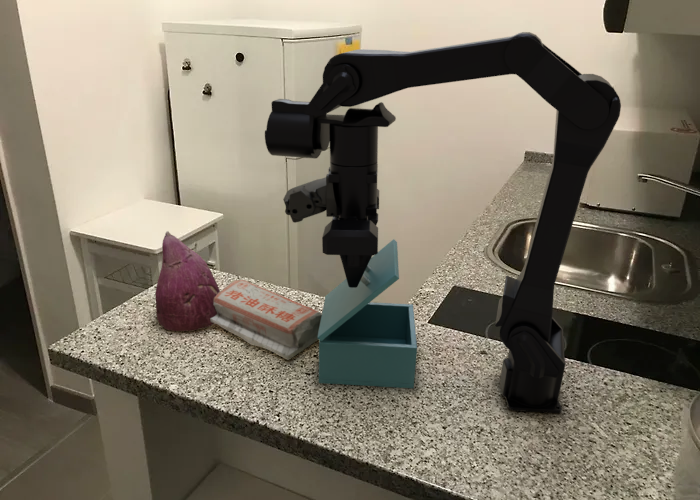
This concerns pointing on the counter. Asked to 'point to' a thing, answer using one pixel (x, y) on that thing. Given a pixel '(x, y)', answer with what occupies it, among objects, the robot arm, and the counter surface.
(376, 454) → the counter surface
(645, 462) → the counter surface
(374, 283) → the freezer lid
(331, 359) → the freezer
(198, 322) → the vegetable
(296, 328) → the packaged product
